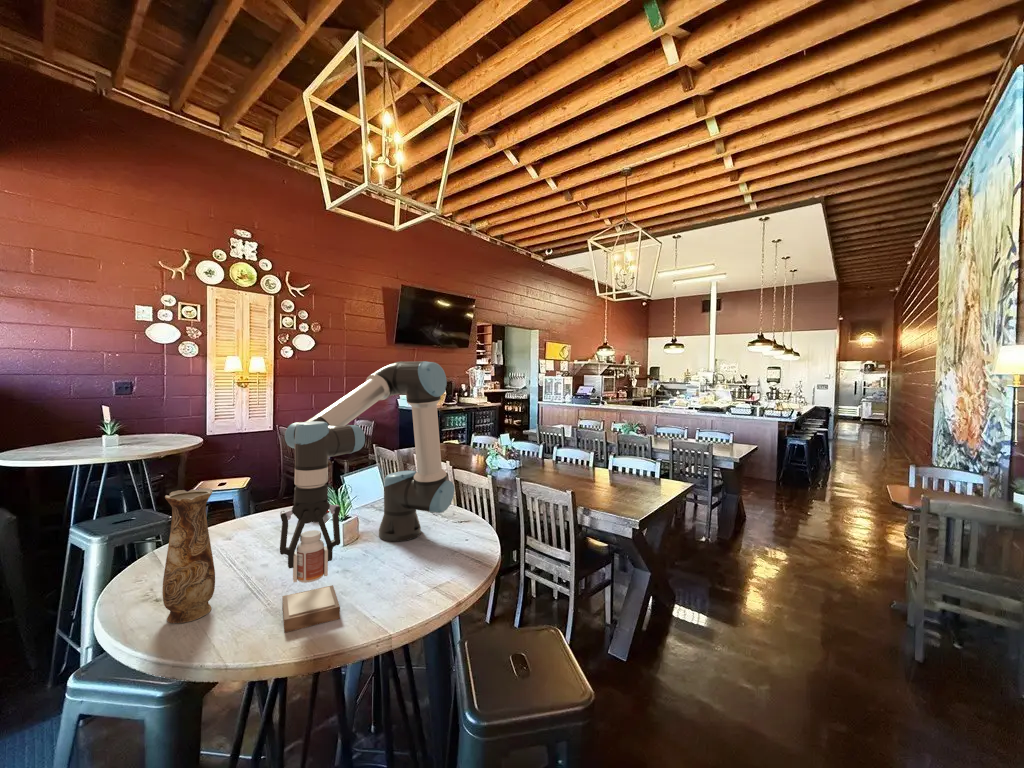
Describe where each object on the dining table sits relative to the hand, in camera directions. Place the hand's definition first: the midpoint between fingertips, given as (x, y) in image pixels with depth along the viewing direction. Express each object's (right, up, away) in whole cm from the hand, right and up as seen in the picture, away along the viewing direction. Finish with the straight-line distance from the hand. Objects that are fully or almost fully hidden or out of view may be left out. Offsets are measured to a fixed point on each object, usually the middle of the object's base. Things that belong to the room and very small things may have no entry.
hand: (310, 576), depth 107 cm
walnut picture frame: (0, -9, 0) cm, 9 cm away
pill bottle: (0, -1, 0) cm, 1 cm away
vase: (-30, -9, -1) cm, 31 cm away
